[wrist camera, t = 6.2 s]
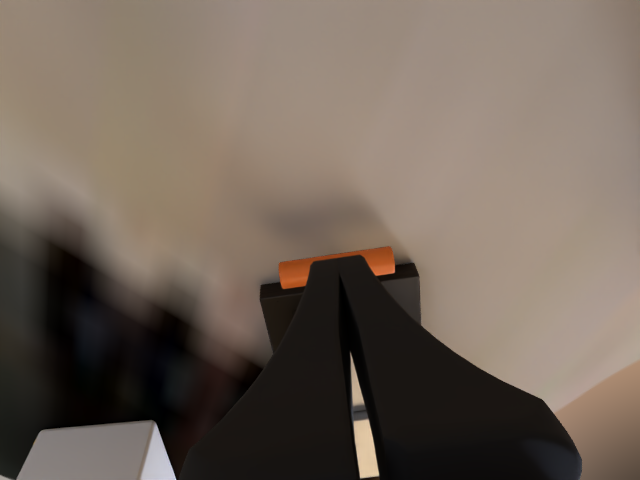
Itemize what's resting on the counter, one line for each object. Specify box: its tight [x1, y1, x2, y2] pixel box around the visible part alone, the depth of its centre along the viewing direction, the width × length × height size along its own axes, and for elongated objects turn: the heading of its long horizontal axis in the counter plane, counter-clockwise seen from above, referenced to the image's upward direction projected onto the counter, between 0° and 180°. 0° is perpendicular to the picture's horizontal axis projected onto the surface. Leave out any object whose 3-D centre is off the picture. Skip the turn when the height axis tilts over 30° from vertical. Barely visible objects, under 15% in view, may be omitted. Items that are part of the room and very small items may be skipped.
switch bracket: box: [260, 263, 421, 354], centre depth 25 cm, size 10×8×8 cm
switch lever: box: [279, 246, 395, 478], centre depth 23 cm, size 10×5×2 cm, turn 7°
